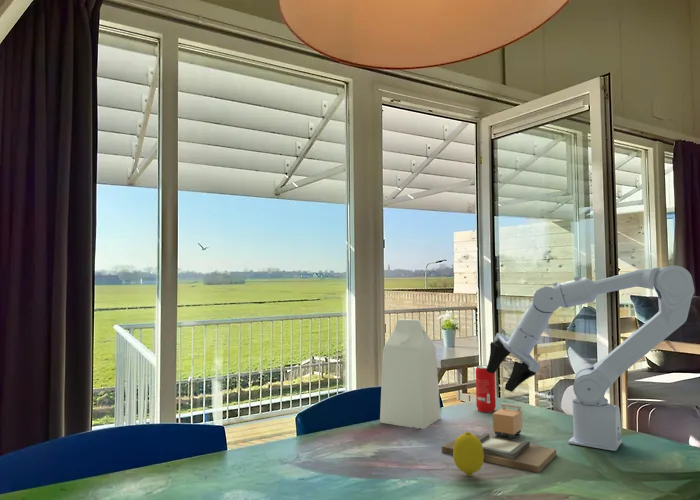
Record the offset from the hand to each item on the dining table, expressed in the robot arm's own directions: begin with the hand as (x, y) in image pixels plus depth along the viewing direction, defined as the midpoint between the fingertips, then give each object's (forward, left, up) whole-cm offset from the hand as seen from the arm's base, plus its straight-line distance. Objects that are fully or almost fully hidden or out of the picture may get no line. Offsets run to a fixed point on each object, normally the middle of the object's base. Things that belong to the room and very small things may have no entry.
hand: (498, 380), depth 122 cm
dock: (-5, +15, -12) cm, 20 cm away
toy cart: (-2, +1, -12) cm, 12 cm away
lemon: (-5, +30, -12) cm, 33 cm away
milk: (+23, +3, -12) cm, 26 cm away
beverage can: (+11, -18, -12) cm, 24 cm away
